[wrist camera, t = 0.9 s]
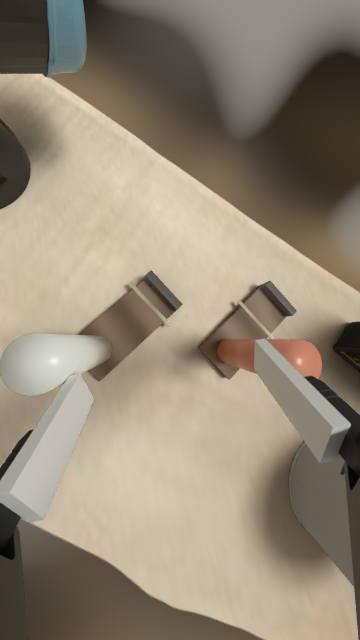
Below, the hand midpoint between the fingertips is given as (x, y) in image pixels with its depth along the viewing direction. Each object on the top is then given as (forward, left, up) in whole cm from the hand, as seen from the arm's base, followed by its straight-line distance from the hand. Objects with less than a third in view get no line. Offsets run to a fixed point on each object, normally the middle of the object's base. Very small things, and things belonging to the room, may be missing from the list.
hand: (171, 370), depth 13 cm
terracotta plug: (-1, +11, -14) cm, 17 cm away
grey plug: (0, -9, -14) cm, 16 cm away
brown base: (-4, +15, -16) cm, 22 cm away
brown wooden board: (-4, -5, -16) cm, 17 cm away
